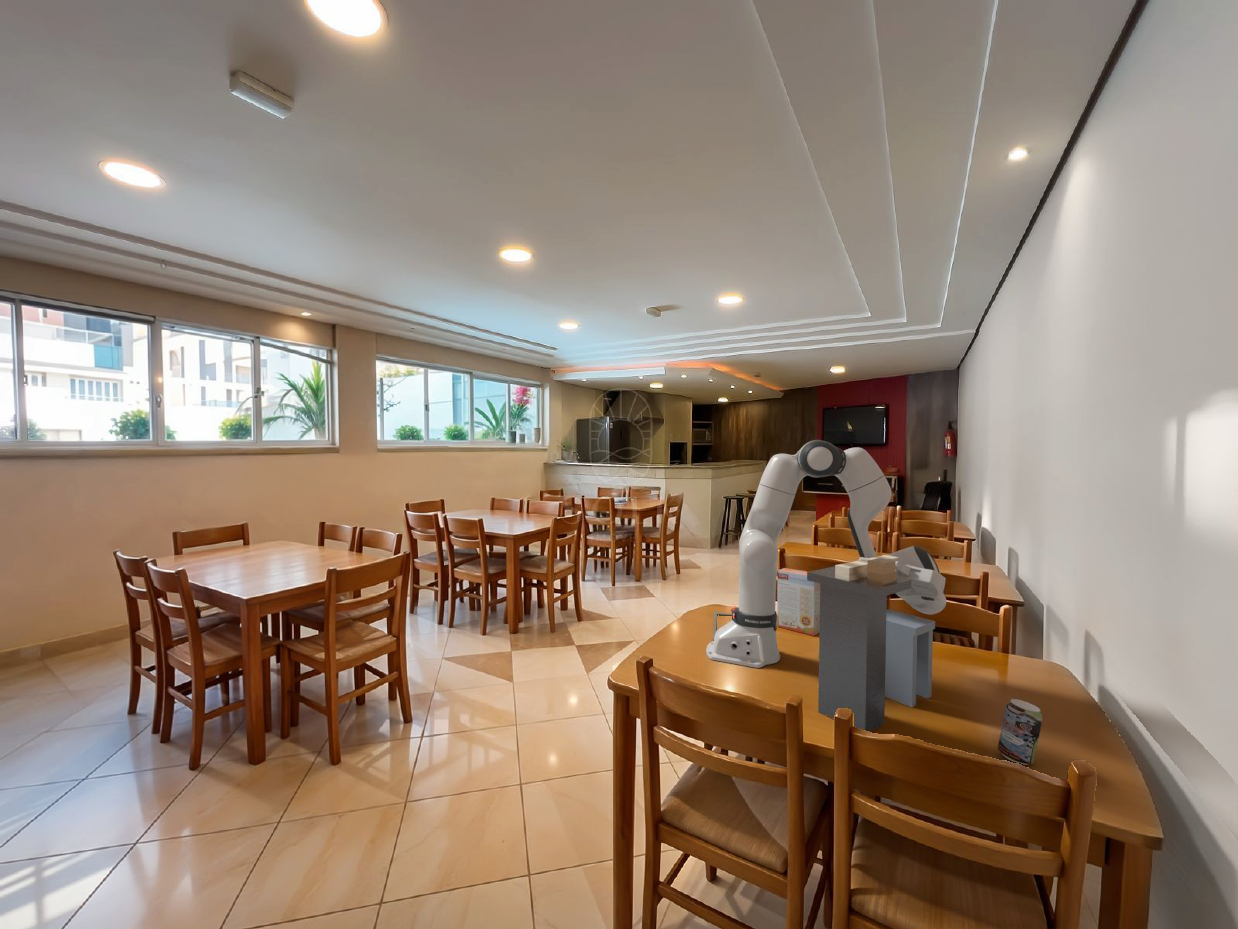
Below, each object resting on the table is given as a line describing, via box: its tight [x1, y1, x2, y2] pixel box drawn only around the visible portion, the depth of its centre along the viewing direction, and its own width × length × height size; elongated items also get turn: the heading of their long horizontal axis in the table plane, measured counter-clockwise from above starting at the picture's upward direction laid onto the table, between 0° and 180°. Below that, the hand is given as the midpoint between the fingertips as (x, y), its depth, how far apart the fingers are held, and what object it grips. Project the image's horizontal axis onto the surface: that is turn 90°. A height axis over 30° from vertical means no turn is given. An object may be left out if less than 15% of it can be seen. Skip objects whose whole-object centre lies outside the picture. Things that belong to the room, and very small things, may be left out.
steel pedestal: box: [806, 558, 911, 732], centre depth 124 cm, size 14×18×39 cm
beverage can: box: [997, 698, 1044, 766], centre depth 106 cm, size 6×7×12 cm
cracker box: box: [776, 567, 820, 637], centre depth 183 cm, size 14×6×21 cm, turn 44°
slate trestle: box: [885, 608, 936, 708], centre depth 135 cm, size 10×12×20 cm
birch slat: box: [834, 554, 899, 581], centre depth 126 cm, size 22×4×3 cm, turn 124°
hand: (884, 561), depth 130 cm, fingers closed on birch slat, 3 cm apart
